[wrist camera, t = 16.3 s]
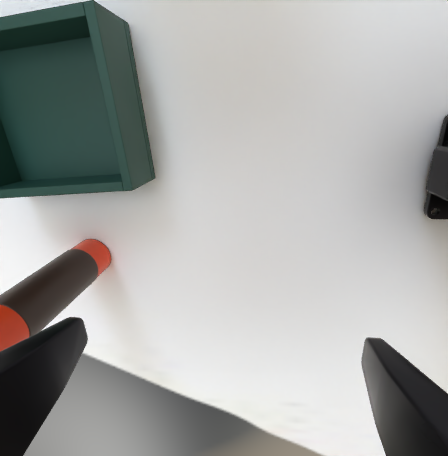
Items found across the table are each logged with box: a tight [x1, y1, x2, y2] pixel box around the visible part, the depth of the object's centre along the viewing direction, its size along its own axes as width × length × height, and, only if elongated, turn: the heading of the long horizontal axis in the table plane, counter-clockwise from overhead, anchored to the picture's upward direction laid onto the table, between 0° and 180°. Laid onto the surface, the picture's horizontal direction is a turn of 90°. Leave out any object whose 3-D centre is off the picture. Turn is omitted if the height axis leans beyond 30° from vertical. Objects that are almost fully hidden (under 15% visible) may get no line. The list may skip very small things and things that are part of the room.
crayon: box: [0, 239, 111, 351], centre depth 18 cm, size 3×3×13 cm
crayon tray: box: [0, 0, 155, 198], centre depth 19 cm, size 11×10×4 cm
